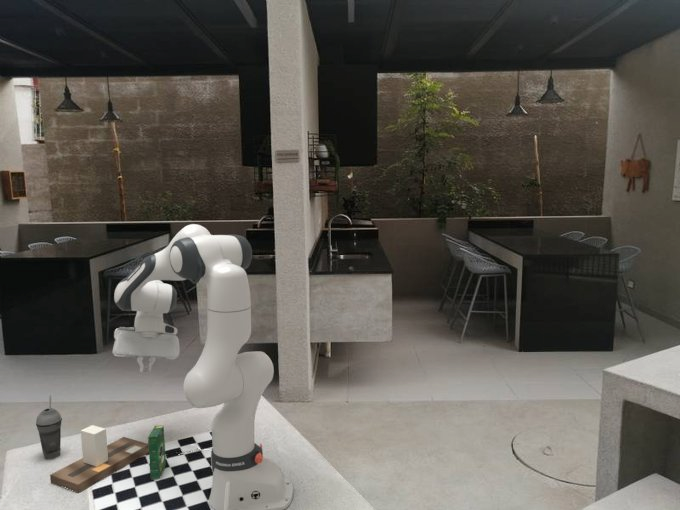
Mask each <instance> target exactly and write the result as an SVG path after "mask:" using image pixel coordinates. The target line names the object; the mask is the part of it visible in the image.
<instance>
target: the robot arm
mask: <svg viewBox="0 0 680 510" xmlns="http://www.w3.org/2000/svg"><path fill="white" fill-rule="evenodd" d="M252 257H253V250H252V246H251V244H250V242H249V241H248V239H247V238H246V237H245V236H242V235H240V234H239V235H238V234H232V233H230V234H214V235H213V234H211V233H210V231H209V230H208V229H207V228H206V227H204V226H202V225H201V224H195V223H191V224H187V225H186V226H184V227H183V228H181V230H179V231H178V232H177V233H176V234H175V236H173V238H172V239H171V240H170V242H169V244H168V245H167V246H166V247H164V248H163V249H162V250H160V251H158V252H155V253H154V254H151V255H148V256H147V257H145V258H144V259H143V260H142V261H141V262H140V263H139V264H138V265H137V266H136V267H135V268H134V269H133V270H132V271H131V273H129V274H128V275H127V276H126V277H125V278H123V279H122V280H120V281H119V282H118V284H117V285H116V287H115V289H114V294H113V295H114V296H113V301H114V304H115V305H116V306H117V307H118V308H119V309H120V310H121V311H122V312H123V311H124V312H126V311H127V312H131V311H132V312H136V315H135V317H134V325H133V327H130V326H129V327H125V326H119V327H118V328H116V329H115V330H114V331H113V338H114V343H113V345H112V346H113V347H112V355H113V356H114V357H121V358H122V357H123V358H136V362H137V363H138V365H139V372H140V373H150V372H152V366H153V365H154V363H155V362H156V359H158V360H176V359H178V357H179V356H180V353H181V352H180V349H181V348H180V340H179V338H178V336H177V334H178V328H177V327H174V326H173V325H170V324H168V323H165V322H164V314H168V313H171V312H172V310H173V311H174V309H175V308H176V306H177V301H178V292H177V290H176V288H175V287H174V286H173V285H172V284H169V283H164V282H163V281H185V280H186V281H187V280H189V281H190V282H191V283H192V284H195V285H197V284H198V283H199V282H200V281H201V280H202V281H203V282H204V284H205V285H206V291H207V293H206V295H207V297H206V307H207V309H206V310H207V312H206V314H207V318H206V320H207V324H206V326H207V327H206V339H205V343H204V347H203V349H202V352H201V354H200V356H199V357H198V360H197V362H196V363H195V365H194V366H193V367H192V368H191V369H190V371H188V372H187V374H186V376H185V377H184V381H183V387H182V388H183V394H184V396H185V398H186V400H187V402H188V403H189V404H190V405H191V406H192V407H194V408H196V409H204V408H213V407H218V406H220V405H222V404H223V405H222V407H221V408H220V409H219V411H218V412H217V413H216V415H214V417H213V419H212V421H211V439H212V442H211V444H212V447H211V448H212V451H211V453H210V462H211V463H210V464H211V465H210V466H211V470H212V481H211V482H212V483H211V489H210V490H211V491H210V495H209V498H208V503H209V505H210V507H212V509H214V510H286V509H287V508H288V507H289V506H290V505H291V503H292V501H293V497H294V487H293V484H292V481H291V480H290V479H288V478H286V477H285V476H284V472H283V470H282V468H281V467H280V465H279V464H277V463H275V462H273V461H272V460H269V459H268V458H266V457H264V455H263V454H264V453H263V451H264V449H263V445H262V443H259V445H258V444H257V443H256V442H255V419H256V413H257V410H258V406H259V403H260V401H261V397H262V395H263V394H264V392H265V390H266V388H267V387H268V386H269V385H270V384H271V382H272V381H273V379H274V373H275V369H274V363H273V362H272V360H271V358H270V357H269V355H267V354H266V352H264V351H244V352H241V353H239V352H240V350H241V349H242V347H243V346H244V345H245V344H246V343H247V342H248V340H249V339H250V337H251V334H252V308H251V307H252V306H251V305H252V303H251V300H252V299H251V291H250V284H249V279H248V274H247V272H246V269H248V268H249V267H250V265H251V262H252ZM144 359H148V362H149V363H148V365H144V363H143V361H144Z"/></svg>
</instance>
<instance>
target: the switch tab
mask: <svg viewBox="0 0 680 510" xmlns="http://www.w3.org/2000/svg"><path fill="white" fill-rule="evenodd" d="M80 439H81V440H80V441H81V451H82V453H81V454H82V458H83V462H84V463H87V464H90V465H93V466H96V467H97V466H99V465H101V464H103V463H105V462H106V461H108V449H107V445H108V440H107V439H108V437H107V429H106V428H104V427H101V426H97V425H95V424H91V425H89V426H87V427H85V428H83V429H81V430H80Z"/></svg>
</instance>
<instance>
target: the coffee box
mask: <svg viewBox="0 0 680 510" xmlns="http://www.w3.org/2000/svg"><path fill="white" fill-rule="evenodd" d="M164 428H165V427H164V424H163V425H162V424H160V425H154V426H153V428H152V429H151V431H150V433H149V434H148V436H147V443H148V445H149V453H148V458H149V475H150V480H153V481H154V480H159V479H161V477H162V474H163V473H164V471H165V469H166V467H167V460H166V459H167V456H166V455H167V453H166V441H165V430H164Z"/></svg>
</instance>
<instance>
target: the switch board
mask: <svg viewBox="0 0 680 510" xmlns="http://www.w3.org/2000/svg"><path fill="white" fill-rule="evenodd" d="M107 449H108V461H106V462H105V463H103V464H101V465H99V466H97V467H96V466H93V465H90V464H87V463H84V462H83V457H81V458H79V459H78V460H76V461H75V462H72V463H70V464H68V465H67V466H65V467H63V468H61V469H58V470H57V471H54V472H53V473H51V474H49V477H50V478H49V479H50V484H52V483H54V484H53V485H55V484H57V485H56V486H58V485H60V486H59V487H61V486H63V487H66V488H68V489H67V490H69V489H71V490H70V491H72V490H73V491H72V492H74V491H76V492H75V493H77V492H80V493H82V492H83V491H85V490H87V489H88V488H89V487H91V486H93V485H96V484H97V483H99V482H101V481H102V480H104V479H105V478H107V477H109V476H110V475H113V474H114V473H115V472H117V470H118V471H119V470H121V469H123V468H125V467H126V466H128V465H130V464H131V463H133V462H135V461H137V460H139V459H140V458H141V457H143V456H145V455H147V454H149V445H148V442H144V441H140V440H136V439H133V438H129V437H126V436H122V437H120V438H119V439H117V440H115V441H113V442H111V443H109V444H107ZM63 487H62V488H63ZM66 488H65V489H66Z"/></svg>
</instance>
